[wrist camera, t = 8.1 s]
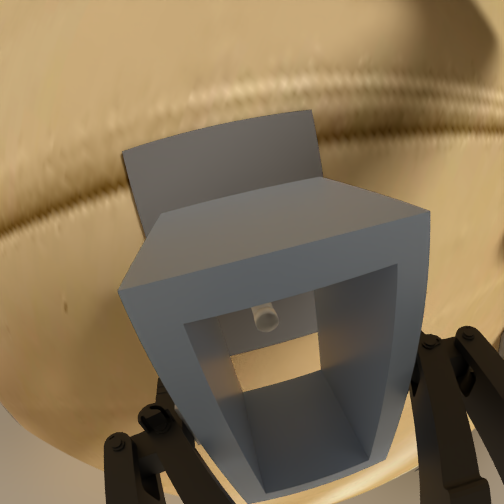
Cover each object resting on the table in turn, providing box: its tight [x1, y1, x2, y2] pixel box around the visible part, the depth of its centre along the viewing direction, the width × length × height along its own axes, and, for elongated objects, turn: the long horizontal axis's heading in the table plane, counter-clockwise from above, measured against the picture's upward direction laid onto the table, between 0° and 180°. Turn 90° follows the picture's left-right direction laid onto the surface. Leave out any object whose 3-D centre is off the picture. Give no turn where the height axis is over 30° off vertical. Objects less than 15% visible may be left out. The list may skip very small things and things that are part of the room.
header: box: [122, 110, 323, 356], centre depth 23 cm, size 22×16×7 cm
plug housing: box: [118, 177, 430, 504], centre depth 13 cm, size 14×8×8 cm, turn 11°
